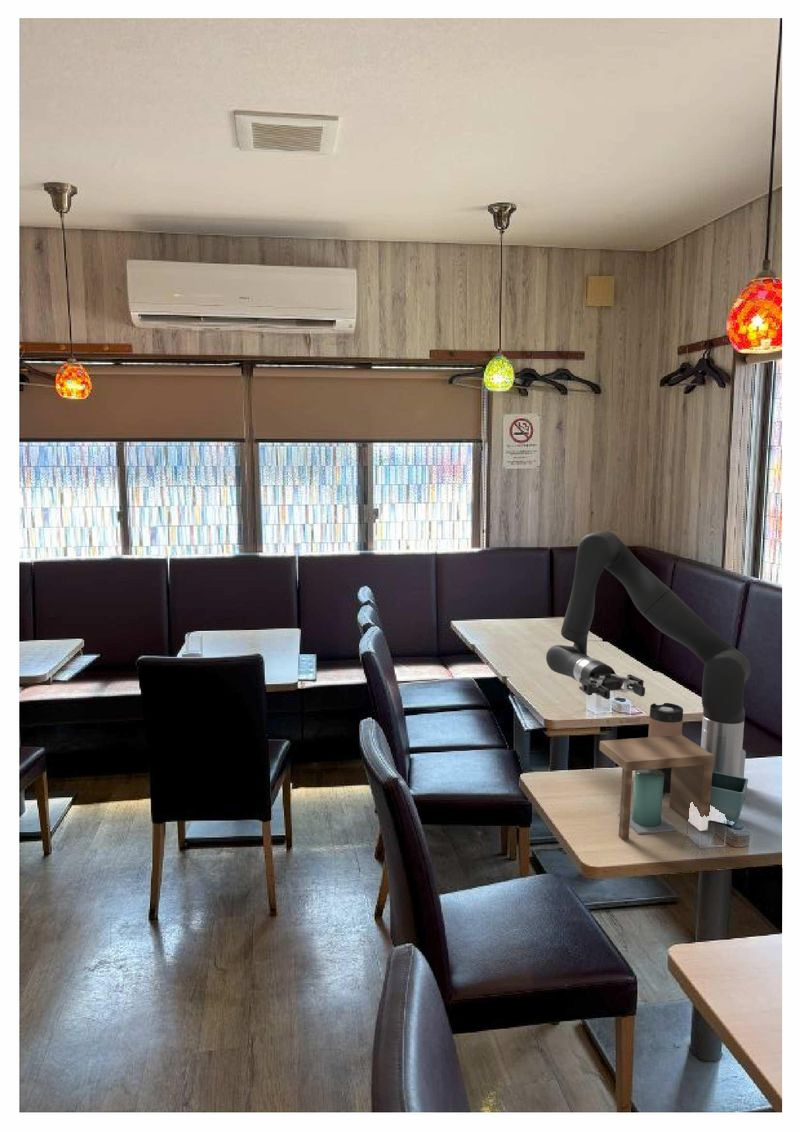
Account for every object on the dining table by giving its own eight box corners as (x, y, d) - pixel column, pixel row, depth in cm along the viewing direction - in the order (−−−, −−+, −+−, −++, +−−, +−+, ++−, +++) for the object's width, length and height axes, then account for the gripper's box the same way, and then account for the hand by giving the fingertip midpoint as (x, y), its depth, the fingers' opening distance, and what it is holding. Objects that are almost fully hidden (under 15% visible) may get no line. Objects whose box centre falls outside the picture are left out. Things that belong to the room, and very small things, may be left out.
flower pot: (741, 833, 167) (744, 793, 166) (697, 823, 172) (700, 784, 170) (745, 816, 175) (748, 778, 174) (703, 807, 179) (706, 770, 178)
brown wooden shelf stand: (677, 806, 180) (681, 734, 177) (708, 830, 168) (713, 754, 166) (596, 813, 175) (599, 740, 173) (622, 839, 164) (626, 762, 161)
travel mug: (672, 796, 184) (677, 714, 182) (640, 788, 189) (645, 708, 186) (682, 786, 190) (688, 706, 188) (651, 777, 195) (656, 700, 192)
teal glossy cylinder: (652, 812, 175) (655, 766, 173) (666, 825, 169) (669, 777, 167) (627, 814, 174) (630, 768, 172) (640, 828, 168) (643, 779, 166)
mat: (654, 811, 177) (654, 809, 177) (676, 830, 168) (676, 828, 168) (617, 815, 175) (618, 813, 175) (638, 834, 166) (638, 832, 166)
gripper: (567, 662, 193) (597, 679, 177) (620, 658, 196) (654, 675, 180) (567, 691, 194) (596, 711, 178) (620, 687, 197) (653, 707, 181)
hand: (625, 693), depth 179 cm, fingers open, 8 cm apart
